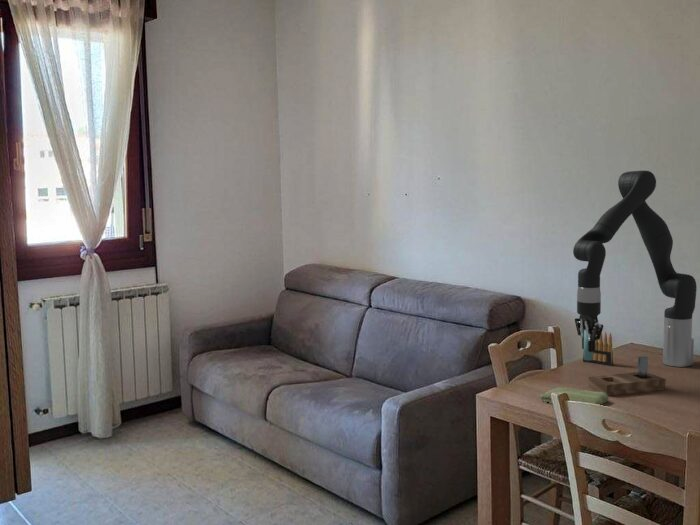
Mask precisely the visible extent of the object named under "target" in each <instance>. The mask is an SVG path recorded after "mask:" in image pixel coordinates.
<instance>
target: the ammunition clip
mask: <svg viewBox="0 0 700 525" xmlns="http://www.w3.org/2000/svg"><path fill="white" fill-rule="evenodd" d="M607 335H608V336H607ZM596 336H597V335H596ZM613 353H614V352H613V337H612V333H611V332H610V333H609V334H607V332H606V331H605V332H604V334H603V332H602V333H601V336H600V339H599V340H596V341H595V351H594V352H593V360H584V351H583V354H582V355H583V356H582V362H583V363H588V364H593V365H594V364H595V365H603V366H607V367H611V366H613V365H614V357H613V356H614V354H613Z"/></svg>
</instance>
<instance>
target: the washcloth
mask: <svg viewBox="0 0 700 525" xmlns="http://www.w3.org/2000/svg"><path fill="white" fill-rule="evenodd" d="M552 392H564V393H567V394H568V395H569V398H570V400H574V401H583V402H589V403H595V404H601V405H604V404H605V403H608V401H609V396H607V395H606V394H605V393H603V392H597V391H591V390H585V389H578V388H577V389H576V388H569V387H555V388H554V389H550V390H547V391H546V392H545V393H542V394H540V395H539V399H541V400H543V403H544V402H551V398H550V394H551V393H552Z"/></svg>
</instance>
